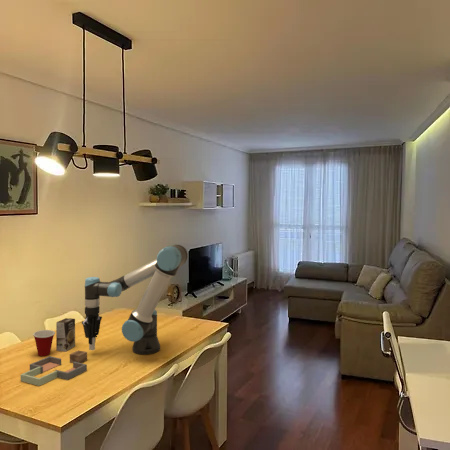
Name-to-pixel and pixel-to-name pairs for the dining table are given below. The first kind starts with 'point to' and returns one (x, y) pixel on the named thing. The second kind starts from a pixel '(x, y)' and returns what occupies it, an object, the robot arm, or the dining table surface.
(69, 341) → the coffee box
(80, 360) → the walnut block
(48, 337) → the plastic cup
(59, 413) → the dining table surface
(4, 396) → the dining table surface
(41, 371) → the channel
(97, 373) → the dining table surface
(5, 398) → the dining table surface
